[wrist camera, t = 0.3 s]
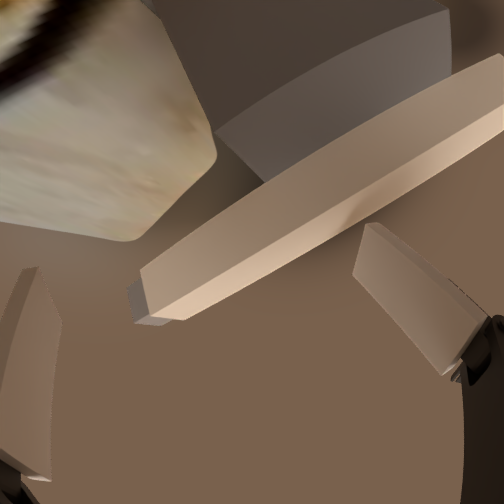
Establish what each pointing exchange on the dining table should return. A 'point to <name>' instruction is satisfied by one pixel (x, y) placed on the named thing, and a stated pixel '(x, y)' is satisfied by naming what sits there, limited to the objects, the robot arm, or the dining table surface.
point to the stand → (303, 67)
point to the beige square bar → (323, 194)
